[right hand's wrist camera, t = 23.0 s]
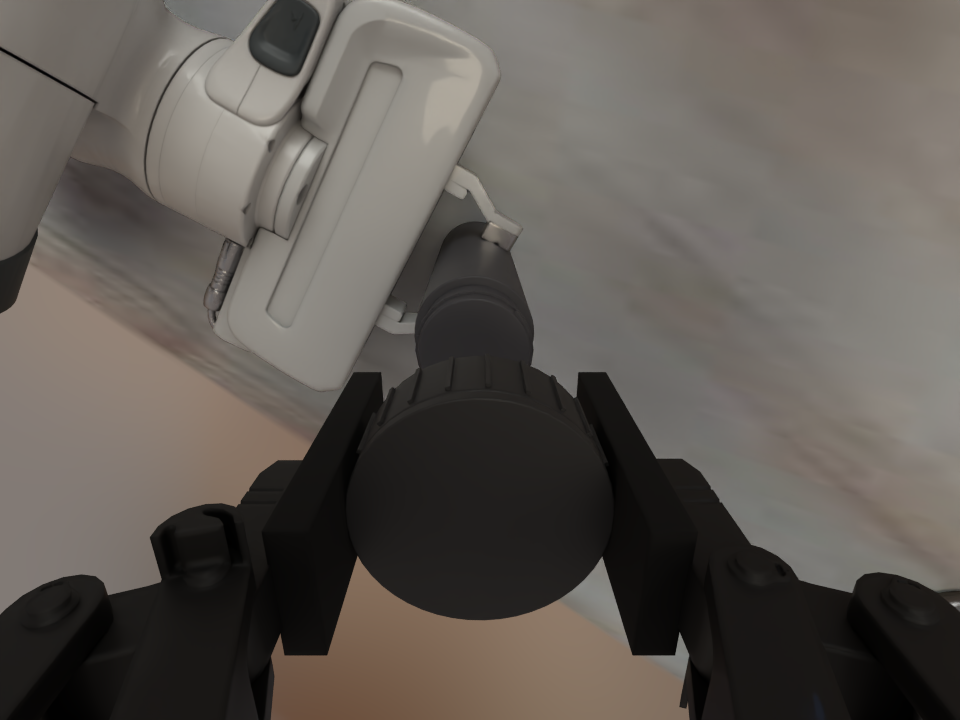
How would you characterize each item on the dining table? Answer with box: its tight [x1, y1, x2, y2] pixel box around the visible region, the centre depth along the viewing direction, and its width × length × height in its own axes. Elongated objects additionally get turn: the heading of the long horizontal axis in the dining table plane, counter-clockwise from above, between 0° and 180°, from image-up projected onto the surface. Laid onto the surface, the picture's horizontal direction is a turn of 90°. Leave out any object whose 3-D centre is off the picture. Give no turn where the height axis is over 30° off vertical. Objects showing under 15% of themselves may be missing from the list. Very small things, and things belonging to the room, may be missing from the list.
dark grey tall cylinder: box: [415, 222, 534, 370], centre depth 27 cm, size 5×5×18 cm
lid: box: [345, 354, 615, 620], centre depth 12 cm, size 6×6×2 cm
